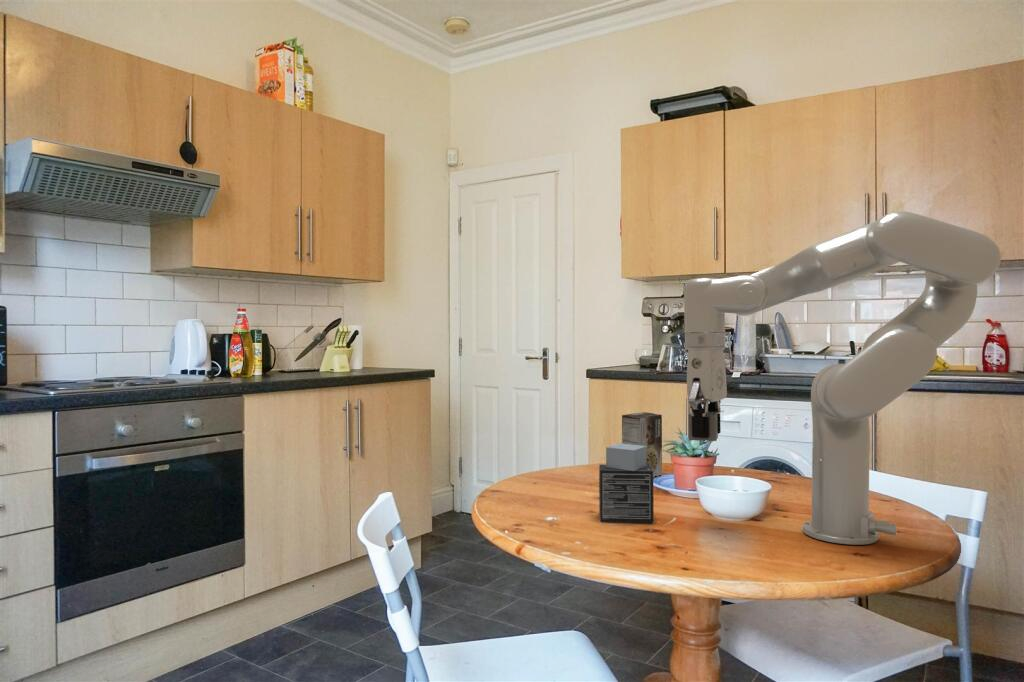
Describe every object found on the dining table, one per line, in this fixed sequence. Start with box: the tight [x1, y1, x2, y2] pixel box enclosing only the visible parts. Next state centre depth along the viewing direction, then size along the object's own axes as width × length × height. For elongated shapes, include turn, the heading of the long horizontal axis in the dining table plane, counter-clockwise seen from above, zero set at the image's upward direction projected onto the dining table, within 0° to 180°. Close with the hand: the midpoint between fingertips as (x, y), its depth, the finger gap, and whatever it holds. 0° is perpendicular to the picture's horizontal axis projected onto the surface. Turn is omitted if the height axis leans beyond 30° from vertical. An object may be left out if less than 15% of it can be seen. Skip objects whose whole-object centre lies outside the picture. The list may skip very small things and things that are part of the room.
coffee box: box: [621, 411, 663, 478], centre depth 175 cm, size 9×6×16 cm
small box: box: [598, 464, 655, 524], centre depth 135 cm, size 11×6×10 cm, turn 84°
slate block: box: [605, 442, 647, 471], centre depth 135 cm, size 6×6×4 cm
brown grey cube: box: [687, 411, 719, 442], centre depth 131 cm, size 5×5×5 cm
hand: (706, 434), depth 131 cm, fingers closed on brown grey cube, 5 cm apart
